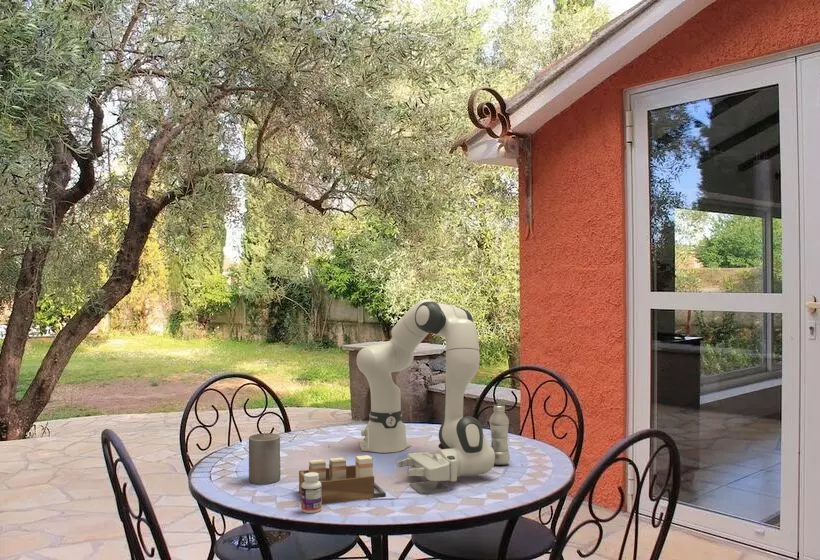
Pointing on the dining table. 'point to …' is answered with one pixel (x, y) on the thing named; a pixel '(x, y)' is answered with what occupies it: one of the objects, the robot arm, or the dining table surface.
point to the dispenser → (341, 481)
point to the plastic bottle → (499, 434)
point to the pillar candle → (264, 458)
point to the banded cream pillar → (364, 466)
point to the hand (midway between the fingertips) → (402, 468)
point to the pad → (429, 487)
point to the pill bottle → (311, 493)
